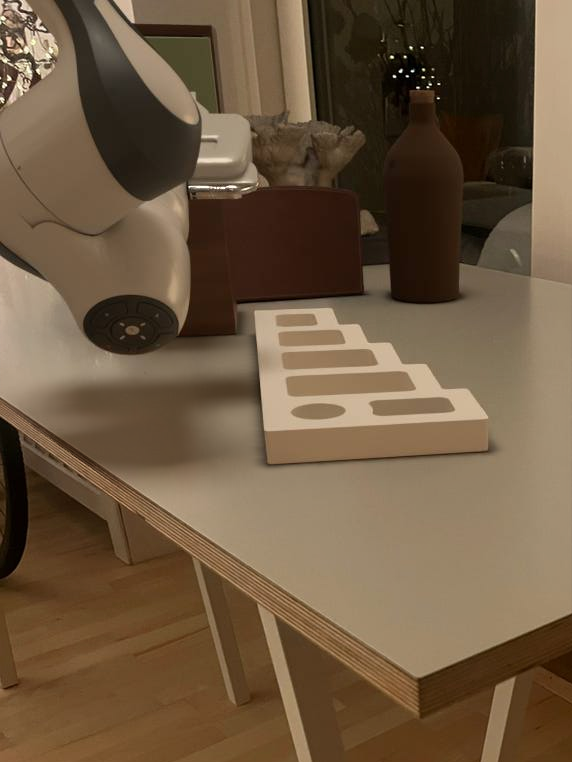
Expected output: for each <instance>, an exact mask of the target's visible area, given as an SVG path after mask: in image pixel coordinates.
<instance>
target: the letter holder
mask: <svg viewBox="0 0 572 762" xmlns="http://www.w3.org/2000/svg"><path fill="white" fill-rule="evenodd" d="M225 200H226V210H227V219H228V228H229V237H230V246H231V256H232V265H233V274H234V283H235V292H236V302H237V303H247V302H261V301H278V300H293V299H312V298H325V297H326V298H327V297H328V298H329V297H331V298H332V297H346V296H362V295H364V292H365V283H364V282H365V281H364V265H363V263H362V246H361V219H360V210H361V203H360V199H359V196H358V194H357V193H356V192H355V191H353V190H351V189H346V188H338V187H332V188H331V187H320V186H269V185H268V186H258V187H257V189H256V190H255V191H252V192H250V193H246V194H242V198H238V199H225Z"/></svg>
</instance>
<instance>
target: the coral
mask: <svg viewBox="0 0 572 762" xmlns="http://www.w3.org/2000/svg"><path fill="white" fill-rule="evenodd" d="M290 114H291V111H290V110H289V109H286V110H285V109H284V110H283V111H282V112H280V113H278V114H275V115H272V116H271V115H266V114H264V115H260V114H259V115H256V114H251V115H243V117H244V118H245V119H246V120H247V121H248V122H249V123H250V131H251V132H252V133H254V134H256V136H255V135H252V136H251V141H252V163H253V164H254V165H255V167H256V169H257V171H258V175H260V176H262V177H263V178H264V179H265V180H266V182H267V184H268V186H320V187H331V188H333V186H332V185H333V184H332V183H333V180H334V179H335V177H336V176H337V175H338V174H339V173H340V172H341V171H342V170H344V169H345V167H346V166H347V165H348V164H349V163H350V162H351V161H352V159H353V158H354V156H355V155H356V154H357V153H358V152H359V150H360V149H361V148H362V147H363V146H364V145H365V144H366V135H365V134H364V133H363V132H362V131H361V130H360V129H357V130H356V131H355V126H354V125H349V126H346V127H345V128H344V129H342V128H341V127H340V126H338V125H333V124H331V123H329V122H327V121H325V120H319V121H318V120H316V119H309V120H308V121H304V122H302V121H297V122H287V120H288V118H289V116H290ZM354 131H355V132H354ZM351 134H352V135H351ZM360 219H361V246H362V263H363V266H366V265H369V266H370V265H384V264H389V252H388V238H387V237H386V236H383V235H382V234H379V230H380V228H379V226H378V224H377V222H376V220H375V218H374V216H373V215H372V214H371V213H370V211H369V210H367V209H360Z"/></svg>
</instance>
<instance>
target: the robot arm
mask: <svg viewBox="0 0 572 762" xmlns="http://www.w3.org/2000/svg"><path fill="white" fill-rule="evenodd" d="M24 2H26V4H27V5H28V6H29V7H30V9H31V10H32V11H33V12H34V14H35V15H36V16H37V17H38V19H39V21H41V23H42V24H43V25H44V27H45V28H46V29H47V31H48V32H49V33H50V34H51V36H52V37H53V38H54V40H55V42H56V47H57V59H56V62H55V66H54V68H53V69H52V70H51V71H50V72H48V73H47V74H46V75H45V76H44V77H42V79H40V80H39V81H38V82H36V83H35V84H34V85H32V86H31V87H30V88H29V89H28V90H26V91H25V92H24V93H23V94H21V95H20V96H19V97H18V98H17V99H15V100H14V101H13V102H11V103H10V104H9V105H7V106H5V107H2V108H1V109H0V257H1V258H3V259H4V260H6V261H7V262H9V263H10V264H11V265H13V266H15V267H17V268H19V270H23V271H24V272H27V273H29V274H31V275H33V276H34V277H36V278H38V279H41V280H42V281H44V282H47V283H49V284H50V285H51V286H52V287H53V289H54V290H56V292H57V293H58V294H59V295H60V297H61V298H62V300H63V301H64V302H65V304H66V306H67V307H68V309H69V312H70V313H71V315H72V317H73V319H74V323H75V324H76V326H77V328H78V329H79V331H80V333H81V334H82V335H83V337H85V339H86V340H87V341H89V342H90V343H91V344H92V345H94V346H96V348H98V349H100V350H102V351H105V352H108V353H112V354H115V355H120V356H138V355H144V354H148V353H152V352H154V351H157V350H159V349H161V348H162V347H164V346H166V345H168V344H169V343H171V342H172V341H174V340H175V339H176V338H177V337H178V336H177V335H178V334H179V332H180V331H181V329H182V327H183V324H184V322H185V319H186V316H187V312H188V306H189V299H190V255H189V250H188V247H187V244H186V241H187V238H188V233H189V207H188V200H189V199H238V198H242V194H246V193H250V192H252V191H255V190H256V189H257V188H258V187H259V183H260V181H259V180H260V179H259V173H258V171H257V169H256V167H255V165H254V164H253V163H252V141H251V137H252V133H251V132H252V131H250V123H249V122H248V121H247V120H246V119H245V118H244V116H242V115H241V114H239V113H225V114H209V111H208V110H206V109H205V108H204V107H203V106H202V105H201V104H199V103H198V102H197V99H196V92H189V90H188V89H187V87H186V86H185V85H184V83H183V82H182V80H181V79H180V78H179V76H178V75H177V74H176V73H175V71H174V70H173V69H172V68H171V66H170V65H169V64H168V63H167V62H166V61H165V59H164V58H163V57H162V56H161V55H160V54H159V53H158V52H157V50H156V49H155V48H154V47H153V46H152V45H151V44H150V43H149V42H148V40H147V39H146V38H145V37H144V36H143V35H142V34H141V33H140V32H139V31H138V29H137V28H136V27H135V26H134V25H133V24H132V23H133V22H131V20H130V19H129V18H128V17H127V15H126V14H125V13H124V11H122V9H121V8H120V6H118V4H117V3H116V1H115V0H24Z"/></svg>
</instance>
